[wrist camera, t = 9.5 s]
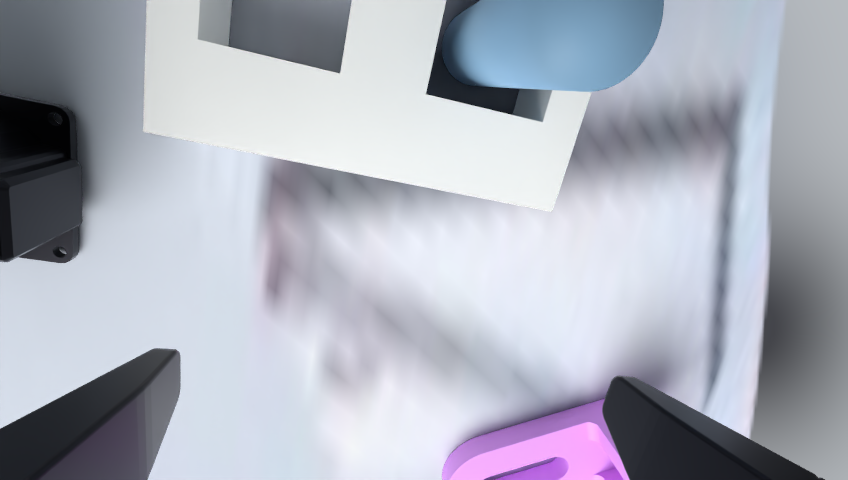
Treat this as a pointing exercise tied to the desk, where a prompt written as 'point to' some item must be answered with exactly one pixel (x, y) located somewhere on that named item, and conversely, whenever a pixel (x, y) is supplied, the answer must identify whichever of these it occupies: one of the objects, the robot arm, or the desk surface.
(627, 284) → the desk surface
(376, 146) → the hole block
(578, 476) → the bracket
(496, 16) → the peg
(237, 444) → the desk surface
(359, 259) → the desk surface
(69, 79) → the desk surface
